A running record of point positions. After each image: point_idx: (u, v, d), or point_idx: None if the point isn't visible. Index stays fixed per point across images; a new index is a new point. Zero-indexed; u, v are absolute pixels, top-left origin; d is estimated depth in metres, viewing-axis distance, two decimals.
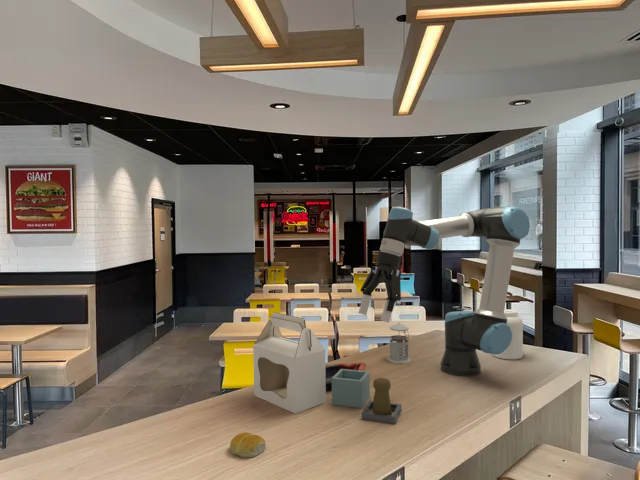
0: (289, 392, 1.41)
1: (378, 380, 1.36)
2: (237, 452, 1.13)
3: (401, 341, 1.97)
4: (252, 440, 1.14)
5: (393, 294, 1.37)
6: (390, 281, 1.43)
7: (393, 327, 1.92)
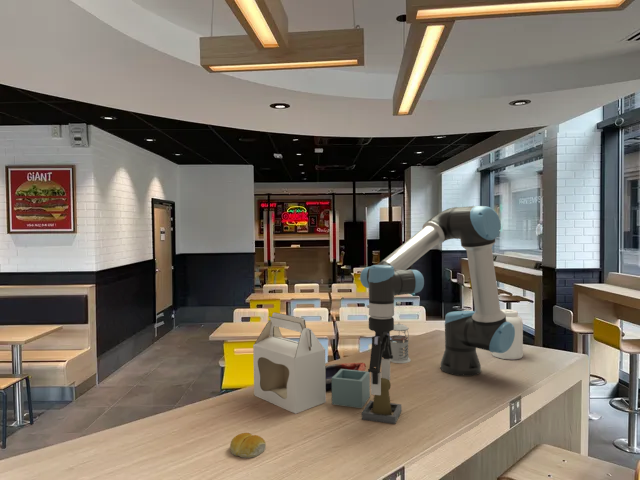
0: (289, 392, 1.41)
1: None
2: (237, 452, 1.13)
3: (401, 341, 1.97)
4: (252, 441, 1.14)
5: None
6: None
7: None
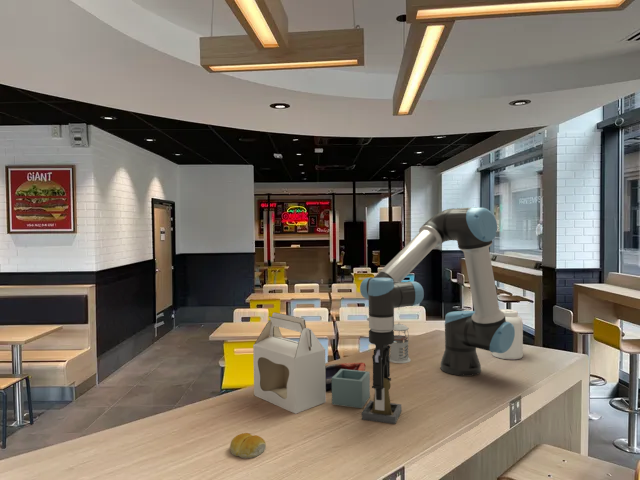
0: (289, 392, 1.41)
1: None
2: (237, 452, 1.13)
3: (401, 341, 1.97)
4: (252, 441, 1.14)
5: None
6: None
7: None
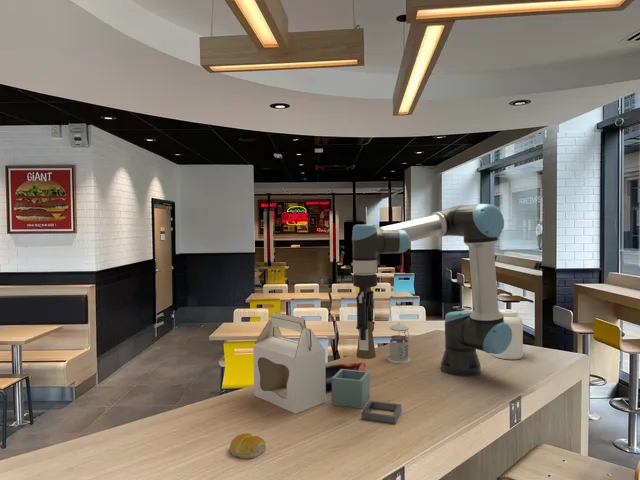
0: (289, 392, 1.41)
1: None
2: (237, 453, 1.13)
3: (401, 341, 1.97)
4: (252, 441, 1.14)
5: None
6: None
7: (393, 327, 1.92)
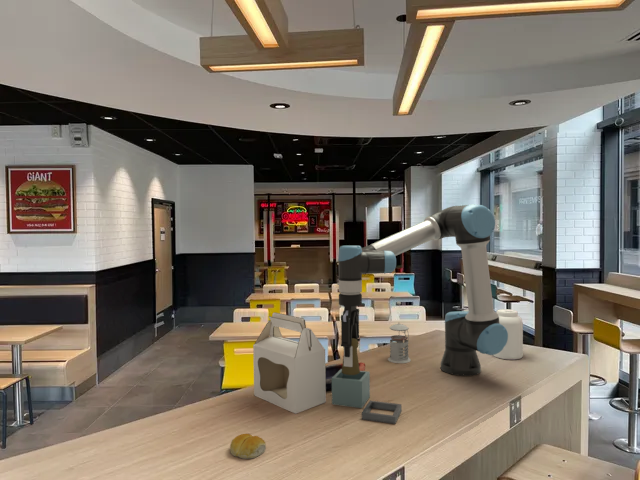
0: (289, 392, 1.41)
1: None
2: (237, 453, 1.12)
3: (401, 341, 1.97)
4: (252, 442, 1.14)
5: None
6: None
7: (393, 327, 1.92)
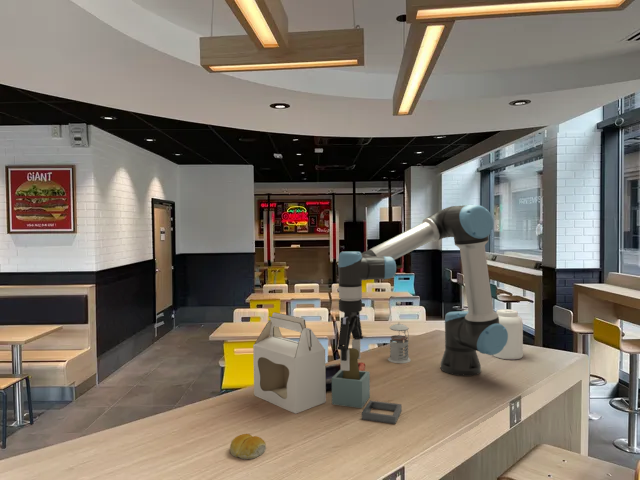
0: (289, 392, 1.41)
1: None
2: (237, 453, 1.12)
3: (401, 341, 1.97)
4: (252, 442, 1.14)
5: None
6: None
7: (393, 327, 1.92)
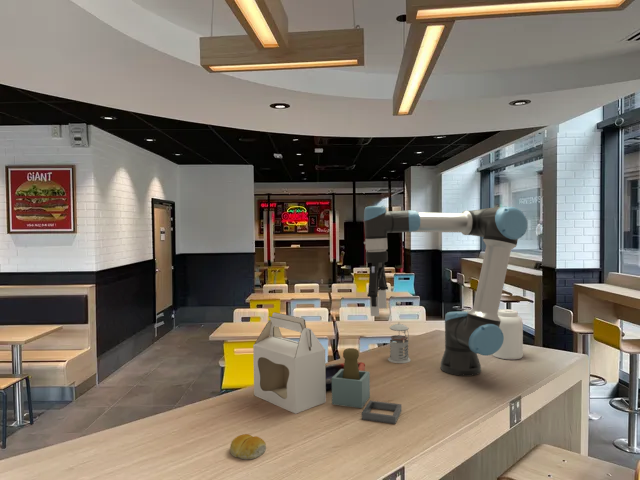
0: (289, 392, 1.41)
1: (347, 350, 1.48)
2: (237, 454, 1.12)
3: (401, 341, 1.97)
4: (252, 442, 1.14)
5: None
6: None
7: (393, 327, 1.92)
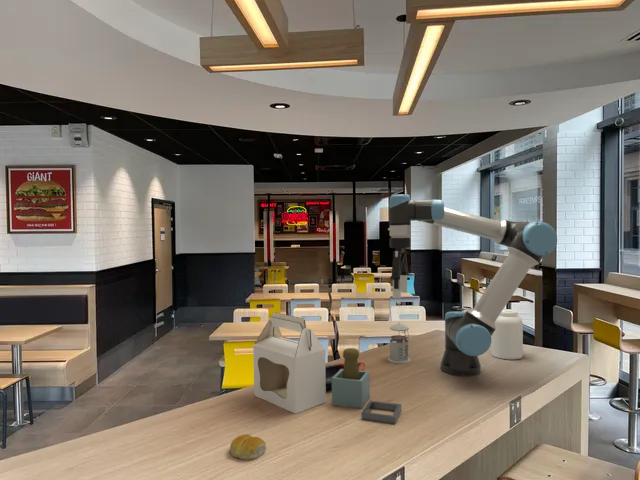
0: (289, 392, 1.41)
1: (347, 350, 1.48)
2: (238, 454, 1.12)
3: (401, 341, 1.97)
4: (252, 443, 1.13)
5: None
6: None
7: (393, 327, 1.92)
